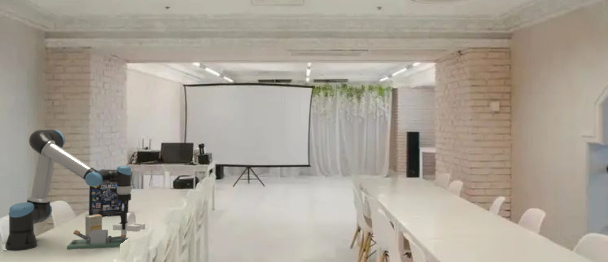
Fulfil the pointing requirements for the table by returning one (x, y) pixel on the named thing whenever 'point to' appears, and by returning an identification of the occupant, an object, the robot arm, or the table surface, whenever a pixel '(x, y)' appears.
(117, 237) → the strap
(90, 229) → the supplement box
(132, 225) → the white slotted holder
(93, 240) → the board
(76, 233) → the block
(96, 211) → the box
